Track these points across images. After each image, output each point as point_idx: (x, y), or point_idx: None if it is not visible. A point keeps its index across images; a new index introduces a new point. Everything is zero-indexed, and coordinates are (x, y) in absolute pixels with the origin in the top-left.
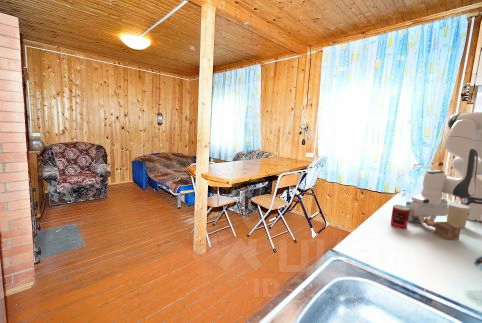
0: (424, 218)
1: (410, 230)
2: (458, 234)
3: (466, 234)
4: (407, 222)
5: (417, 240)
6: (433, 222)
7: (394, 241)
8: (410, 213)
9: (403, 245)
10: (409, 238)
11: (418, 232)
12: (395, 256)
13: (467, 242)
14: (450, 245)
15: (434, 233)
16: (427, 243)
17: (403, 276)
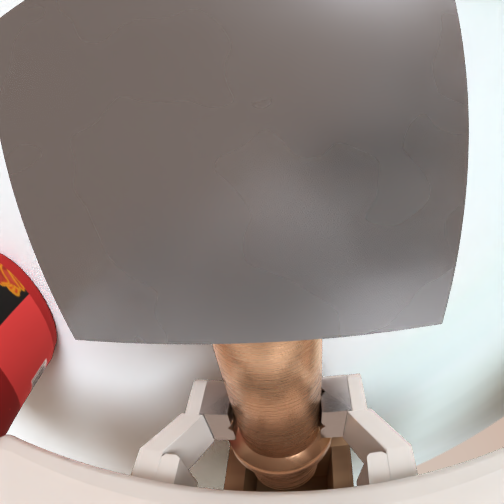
0: (247, 423)
1: (75, 380)
2: None
3: (493, 402)
4: (30, 391)
5: (82, 446)
6: (265, 481)
7: None
8: (5, 439)
9: (31, 442)
10: (53, 429)
11: (120, 408)
12: None
13: (357, 476)
14: (219, 488)
15: None
16: (116, 465)
17: None
